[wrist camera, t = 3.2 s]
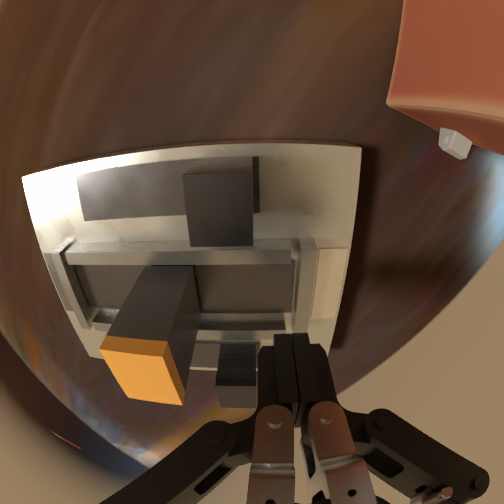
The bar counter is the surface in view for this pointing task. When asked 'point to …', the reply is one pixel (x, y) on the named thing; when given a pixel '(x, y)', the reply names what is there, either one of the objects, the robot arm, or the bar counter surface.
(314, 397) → the robot arm
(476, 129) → the orange rectangular box
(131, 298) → the block
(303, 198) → the breaker board
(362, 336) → the bar counter surface
